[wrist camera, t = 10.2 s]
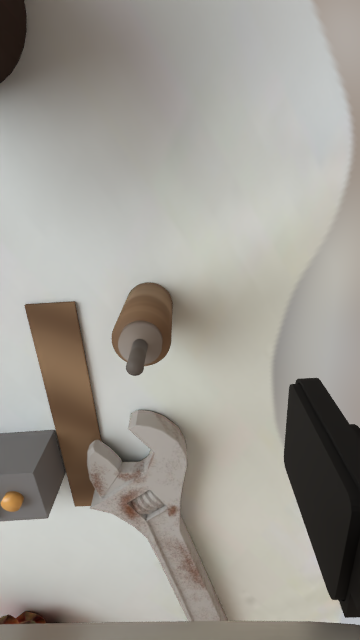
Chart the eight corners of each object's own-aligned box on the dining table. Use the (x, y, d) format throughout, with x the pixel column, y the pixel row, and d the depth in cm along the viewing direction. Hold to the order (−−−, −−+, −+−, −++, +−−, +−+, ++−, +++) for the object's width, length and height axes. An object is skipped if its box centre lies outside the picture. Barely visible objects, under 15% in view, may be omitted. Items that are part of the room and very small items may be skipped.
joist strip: (113, 502, 27) (112, 504, 27) (75, 504, 27) (75, 506, 27) (74, 301, 20) (73, 302, 20) (25, 304, 21) (24, 305, 20)
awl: (174, 324, 21) (172, 395, 14) (130, 327, 21) (105, 399, 14) (170, 280, 20) (166, 334, 13) (123, 284, 20) (94, 339, 13)
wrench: (184, 673, 33) (54, 448, 22) (184, 649, 35) (62, 429, 24) (264, 657, 33) (170, 417, 22) (259, 634, 34) (170, 399, 23)
